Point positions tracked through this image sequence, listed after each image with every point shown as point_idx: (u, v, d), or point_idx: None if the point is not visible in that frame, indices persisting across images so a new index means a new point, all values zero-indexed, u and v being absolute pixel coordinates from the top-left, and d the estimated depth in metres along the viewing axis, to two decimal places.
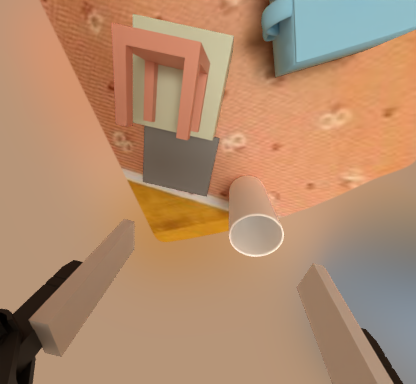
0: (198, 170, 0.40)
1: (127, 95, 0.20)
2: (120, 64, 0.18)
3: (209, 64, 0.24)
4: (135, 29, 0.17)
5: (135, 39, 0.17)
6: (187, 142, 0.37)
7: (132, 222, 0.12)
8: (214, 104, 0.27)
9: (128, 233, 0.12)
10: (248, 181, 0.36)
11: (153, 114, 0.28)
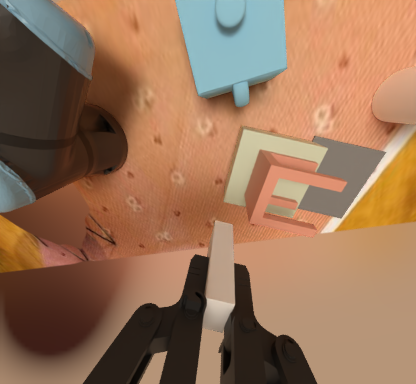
0: (346, 160, 0.35)
1: (293, 224, 0.25)
2: (273, 223, 0.25)
3: (261, 150, 0.29)
4: (255, 209, 0.24)
5: (260, 210, 0.24)
6: None
7: (223, 223, 0.14)
8: (293, 145, 0.28)
9: None
10: (389, 97, 0.27)
11: (291, 200, 0.32)
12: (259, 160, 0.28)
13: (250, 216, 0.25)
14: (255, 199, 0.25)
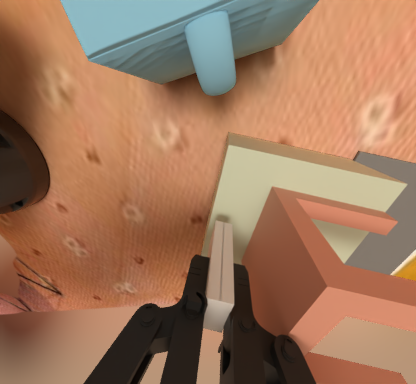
0: (411, 192, 0.20)
1: None
2: None
3: (277, 190, 0.14)
4: None
5: None
6: None
7: (223, 223, 0.14)
8: (333, 177, 0.14)
9: None
10: None
11: None
12: (273, 215, 0.13)
13: None
14: (267, 328, 0.10)
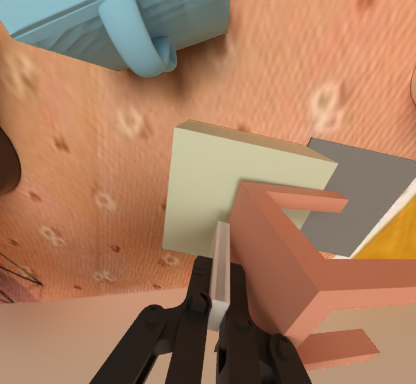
0: (361, 177, 0.22)
1: (339, 355, 0.11)
2: None
3: (246, 184, 0.13)
4: None
5: None
6: None
7: (226, 224, 0.14)
8: (272, 157, 0.15)
9: None
10: None
11: None
12: (246, 212, 0.12)
13: None
14: None
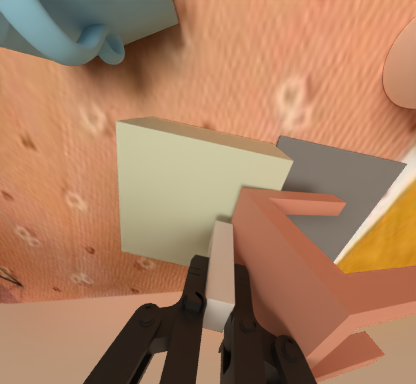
0: (336, 178, 0.20)
1: (348, 363, 0.11)
2: None
3: (248, 191, 0.13)
4: None
5: None
6: None
7: (223, 223, 0.14)
8: (222, 154, 0.14)
9: None
10: None
11: None
12: (250, 221, 0.12)
13: None
14: None
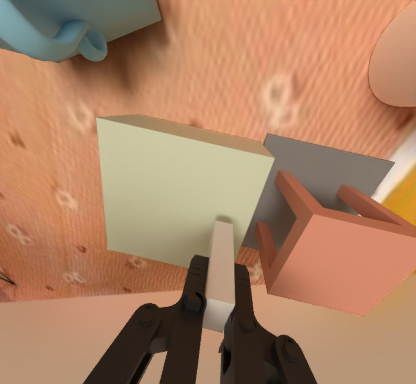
0: (325, 176, 0.20)
1: None
2: None
3: (320, 214, 0.12)
4: (379, 299, 0.15)
5: None
6: (268, 191, 0.22)
7: (223, 223, 0.14)
8: (203, 151, 0.13)
9: None
10: (406, 47, 0.12)
11: (265, 227, 0.23)
12: (338, 236, 0.12)
13: (363, 310, 0.15)
14: (374, 290, 0.14)
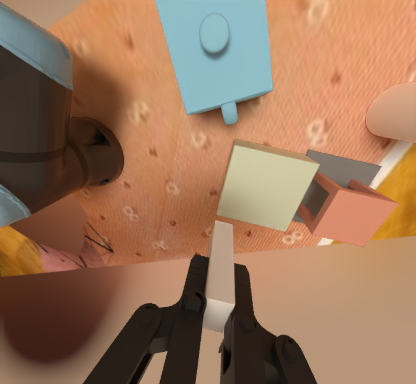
0: (341, 174, 0.35)
1: None
2: None
3: (342, 189, 0.27)
4: (371, 235, 0.29)
5: None
6: None
7: (223, 223, 0.14)
8: (284, 160, 0.28)
9: None
10: (382, 114, 0.27)
11: (303, 205, 0.37)
12: (350, 200, 0.27)
13: (363, 242, 0.30)
14: (368, 230, 0.29)
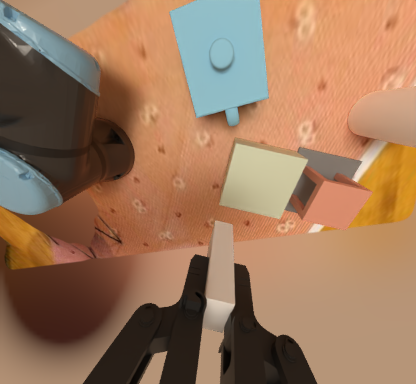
0: (327, 168, 0.40)
1: None
2: None
3: (326, 181, 0.32)
4: (351, 220, 0.34)
5: None
6: None
7: (223, 223, 0.14)
8: (278, 156, 0.33)
9: None
10: (360, 117, 0.32)
11: (295, 196, 0.42)
12: (333, 190, 0.32)
13: (345, 226, 0.35)
14: (349, 215, 0.34)
